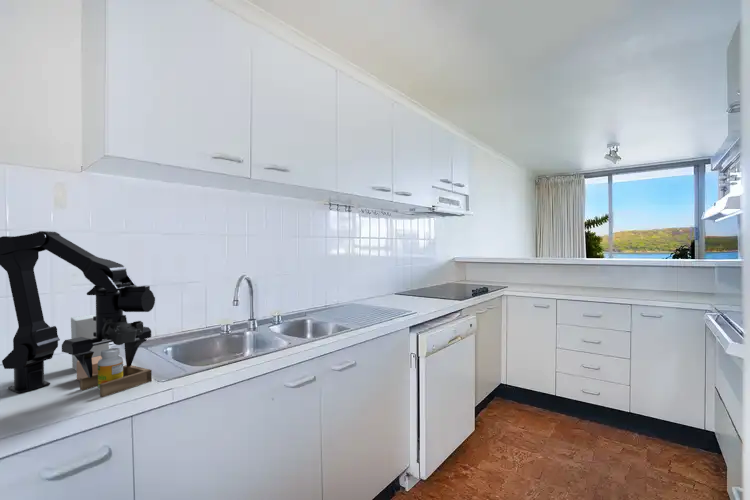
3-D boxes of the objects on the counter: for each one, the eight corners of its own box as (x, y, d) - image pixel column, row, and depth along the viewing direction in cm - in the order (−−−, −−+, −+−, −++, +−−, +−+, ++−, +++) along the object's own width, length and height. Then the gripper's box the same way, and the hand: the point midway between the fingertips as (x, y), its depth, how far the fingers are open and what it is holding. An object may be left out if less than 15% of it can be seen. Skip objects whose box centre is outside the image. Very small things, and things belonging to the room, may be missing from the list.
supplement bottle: (92, 389, 95) (92, 351, 95) (114, 382, 100) (113, 346, 100) (106, 392, 93) (106, 354, 93) (128, 385, 98) (127, 348, 98)
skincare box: (104, 361, 118) (103, 312, 118) (110, 365, 114) (110, 315, 113) (70, 368, 111) (69, 316, 111) (76, 373, 107) (75, 319, 107)
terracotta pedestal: (76, 379, 102) (76, 361, 102) (104, 371, 108) (104, 354, 108) (90, 383, 99) (90, 365, 99) (118, 375, 105) (118, 357, 105)
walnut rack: (80, 389, 95) (79, 378, 95) (128, 375, 105) (128, 364, 105) (102, 397, 90) (102, 384, 90) (151, 380, 101) (151, 369, 101)
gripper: (85, 321, 84) (85, 389, 84) (163, 308, 101) (164, 365, 101) (60, 317, 89) (60, 381, 89) (139, 305, 106) (139, 360, 106)
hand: (110, 371), depth 96 cm, fingers open, 9 cm apart
